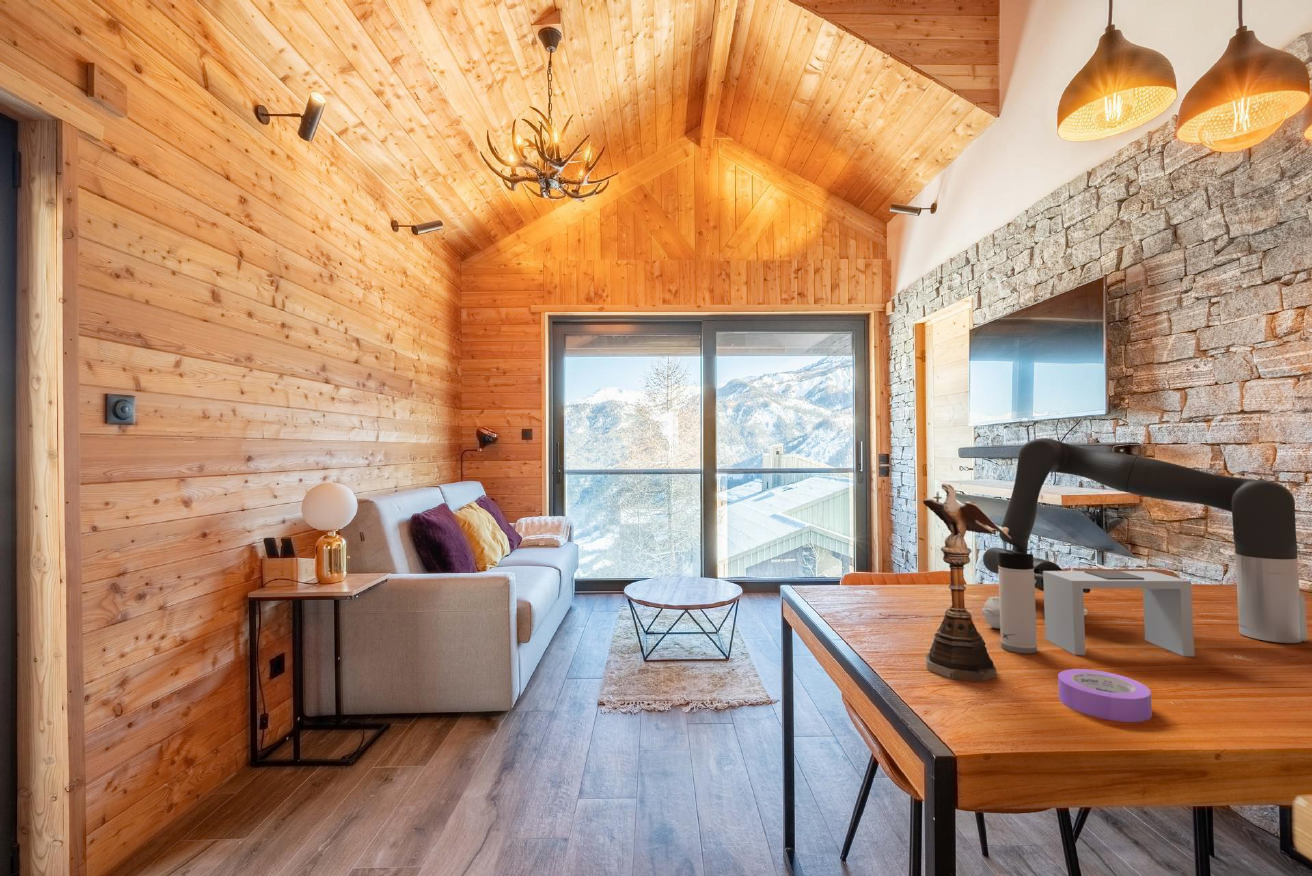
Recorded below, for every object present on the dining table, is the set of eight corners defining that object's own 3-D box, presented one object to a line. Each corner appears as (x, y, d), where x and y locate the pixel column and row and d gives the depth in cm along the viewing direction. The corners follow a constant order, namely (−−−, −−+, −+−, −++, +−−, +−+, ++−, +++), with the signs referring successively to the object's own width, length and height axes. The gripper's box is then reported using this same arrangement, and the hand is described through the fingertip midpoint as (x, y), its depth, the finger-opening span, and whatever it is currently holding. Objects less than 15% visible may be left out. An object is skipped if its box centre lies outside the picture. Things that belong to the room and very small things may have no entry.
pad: (1119, 572, 123) (1119, 571, 123) (1144, 579, 116) (1144, 577, 116) (1084, 572, 124) (1084, 571, 124) (1106, 579, 117) (1106, 577, 117)
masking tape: (1171, 725, 86) (1170, 699, 86) (1083, 721, 88) (1082, 695, 88) (1121, 693, 97) (1120, 670, 97) (1044, 690, 99) (1044, 667, 99)
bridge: (1155, 640, 124) (1152, 571, 124) (1194, 656, 114) (1191, 581, 114) (1045, 639, 125) (1043, 571, 126) (1074, 654, 115) (1072, 580, 116)
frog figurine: (1013, 626, 135) (1012, 595, 135) (1012, 634, 129) (1011, 602, 129) (983, 622, 138) (982, 592, 139) (981, 630, 132) (980, 599, 133)
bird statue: (961, 648, 120) (956, 478, 121) (1025, 668, 108) (1019, 479, 109) (904, 662, 113) (899, 480, 114) (967, 685, 101) (960, 482, 102)
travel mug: (1004, 652, 117) (1000, 552, 118) (998, 642, 123) (995, 547, 124) (1040, 656, 115) (1037, 553, 116) (1033, 646, 121) (1029, 548, 122)
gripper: (1008, 558, 148) (1048, 572, 131) (1065, 558, 147) (1113, 571, 130) (1009, 588, 148) (1050, 605, 131) (1067, 587, 147) (1115, 605, 130)
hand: (1081, 588), depth 131 cm, fingers closed
